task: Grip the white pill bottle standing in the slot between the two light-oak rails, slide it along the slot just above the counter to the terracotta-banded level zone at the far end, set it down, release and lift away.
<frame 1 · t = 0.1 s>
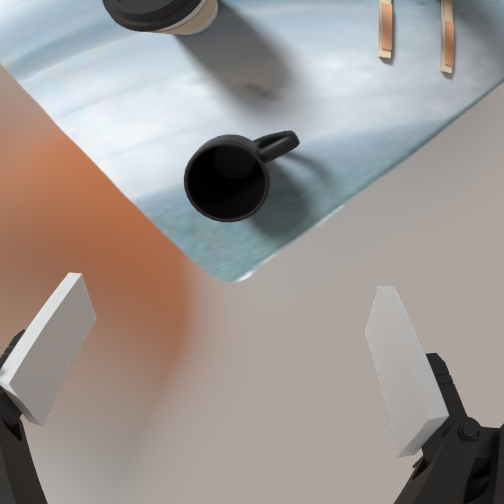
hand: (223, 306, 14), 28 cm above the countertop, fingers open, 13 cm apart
coffee cup: (188, 9, 29), on the countertop
mug: (248, 150, 38), on the countertop
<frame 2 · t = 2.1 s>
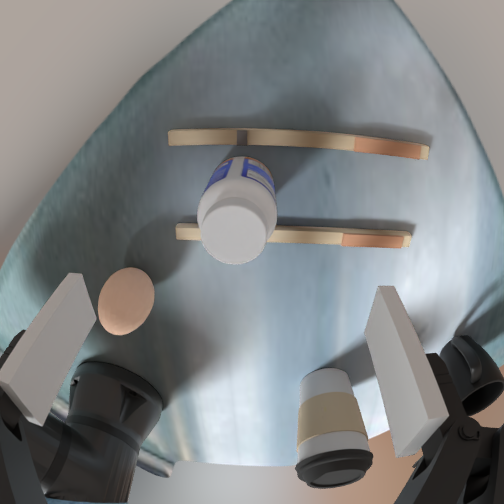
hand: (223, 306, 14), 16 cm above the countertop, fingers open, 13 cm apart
coffee cup: (324, 382, 41), on the countertop
egg: (139, 275, 33), on the countertop
mug: (454, 340, 37), on the countertop
pill bottle: (242, 184, 28), on the countertop
beam track: (301, 186, 27), on the countertop
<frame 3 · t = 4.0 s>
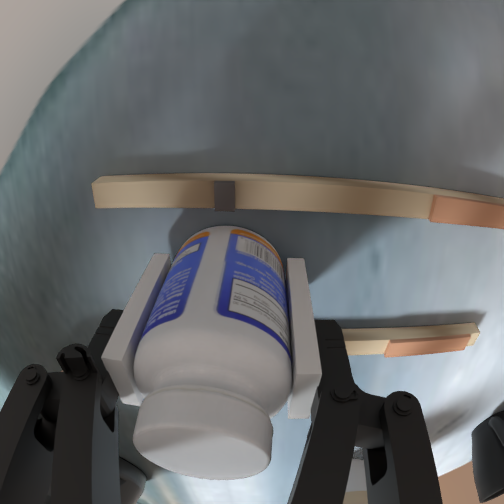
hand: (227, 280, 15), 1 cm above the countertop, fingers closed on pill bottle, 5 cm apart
coffee cup: (336, 468, 30), on the countertop
mug: (491, 416, 26), on the countertop
pill bottle: (230, 268, 16), on the countertop, touching gripper
beam track: (330, 274, 16), on the countertop
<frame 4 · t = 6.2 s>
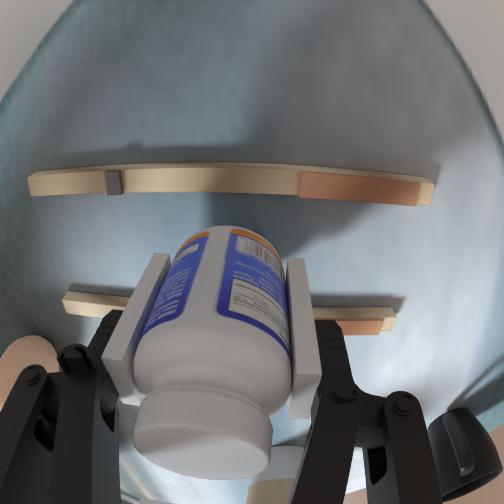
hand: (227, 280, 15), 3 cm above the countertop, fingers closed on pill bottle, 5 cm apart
coffee cup: (283, 455, 32), on the countertop
egg: (46, 340, 24), on the countertop
mug: (447, 413, 28), on the countertop
pill bottle: (229, 268, 16), point 2 cm above the countertop, touching gripper
beam track: (218, 250, 18), on the countertop
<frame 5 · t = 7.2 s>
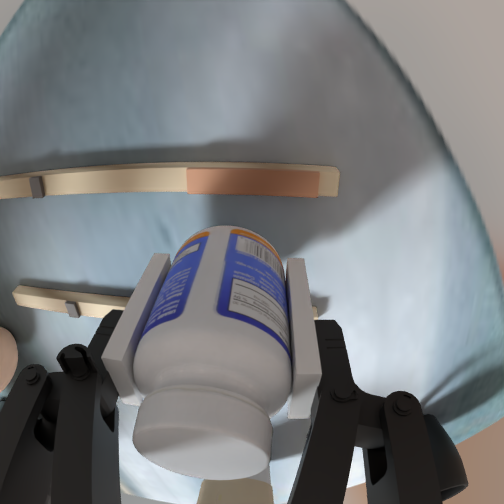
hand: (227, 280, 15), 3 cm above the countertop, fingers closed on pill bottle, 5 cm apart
coffee cup: (239, 454, 32), on the countertop
egg: (9, 332, 24), on the countertop
mug: (410, 420, 28), on the countertop
pill bottle: (229, 268, 16), point 2 cm above the countertop, touching gripper
beam track: (130, 247, 18), on the countertop
when the fingers open (1 cm above the countertop, at t = 8.3 s): pill bottle stays where it is, on the countertop.
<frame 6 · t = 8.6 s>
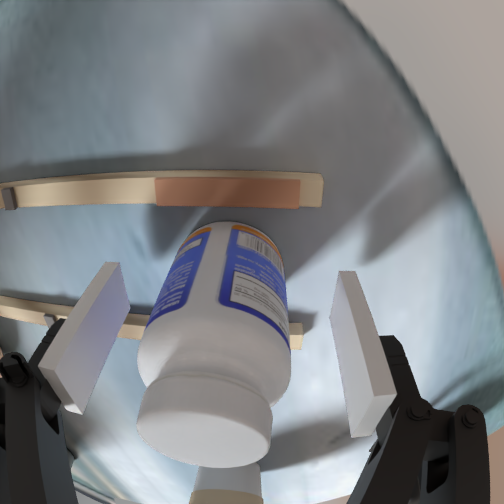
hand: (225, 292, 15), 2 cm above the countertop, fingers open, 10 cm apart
coffee cup: (230, 465, 30), on the countertop
pill bottle: (231, 263, 17), on the countertop
beam track: (105, 260, 17), on the countertop
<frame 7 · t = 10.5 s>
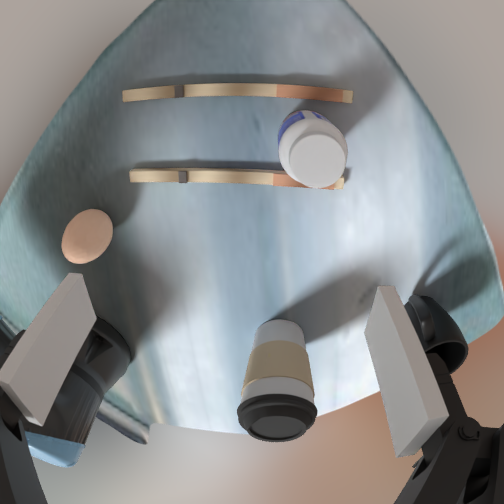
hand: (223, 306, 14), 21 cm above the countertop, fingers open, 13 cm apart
coffee cup: (279, 336, 44), on the countertop
egg: (103, 218, 36), on the countertop
mug: (414, 301, 39), on the countertop
pill bottle: (306, 135, 30), on the countertop
beam track: (233, 132, 30), on the countertop
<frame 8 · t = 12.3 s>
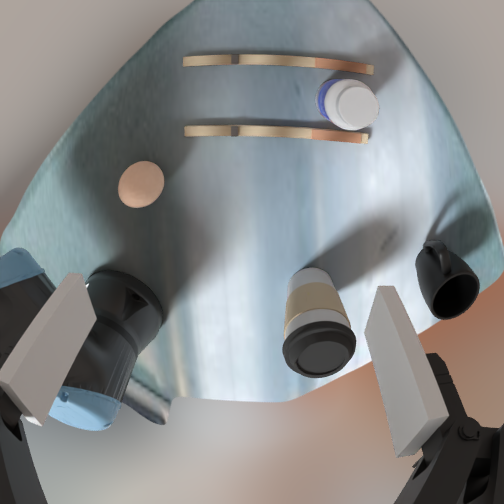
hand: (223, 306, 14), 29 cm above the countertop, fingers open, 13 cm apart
coffee cup: (309, 286, 48), on the countertop
egg: (152, 173, 40), on the countertop
mug: (427, 249, 44), on the countertop
pill bottle: (336, 100, 35), on the countertop
beam track: (278, 95, 35), on the countertop
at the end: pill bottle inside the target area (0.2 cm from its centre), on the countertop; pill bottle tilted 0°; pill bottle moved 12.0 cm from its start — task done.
